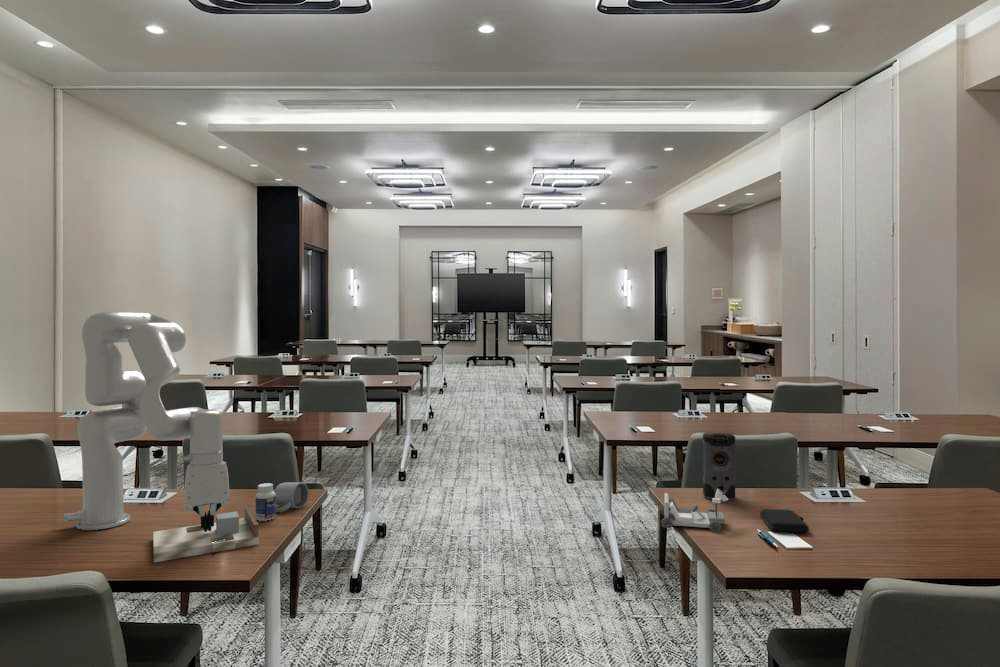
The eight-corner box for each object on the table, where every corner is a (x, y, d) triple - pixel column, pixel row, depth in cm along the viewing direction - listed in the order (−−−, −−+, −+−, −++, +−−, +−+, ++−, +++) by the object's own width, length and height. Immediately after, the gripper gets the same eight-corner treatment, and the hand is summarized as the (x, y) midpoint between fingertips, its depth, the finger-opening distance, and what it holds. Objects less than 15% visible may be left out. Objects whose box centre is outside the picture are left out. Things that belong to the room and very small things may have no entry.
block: (217, 535, 154) (217, 519, 154) (216, 529, 159) (216, 514, 159) (239, 532, 157) (238, 516, 157) (236, 526, 161) (236, 511, 161)
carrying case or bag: (815, 537, 157) (798, 519, 172) (815, 525, 157) (798, 508, 172) (771, 534, 159) (758, 517, 174) (771, 523, 159) (758, 506, 174)
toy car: (726, 485, 171) (731, 497, 160) (726, 520, 172) (731, 534, 160) (660, 482, 176) (661, 492, 165) (660, 515, 176) (661, 528, 165)
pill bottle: (268, 522, 171) (268, 487, 171) (251, 521, 172) (251, 486, 172) (279, 516, 176) (279, 482, 176) (262, 515, 177) (262, 482, 177)
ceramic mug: (287, 502, 191) (287, 477, 190) (309, 504, 188) (309, 479, 188) (264, 512, 181) (263, 487, 180) (287, 515, 178) (286, 489, 178)
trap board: (153, 562, 142) (153, 541, 142) (153, 539, 157) (153, 520, 157) (258, 544, 153) (258, 524, 153) (248, 524, 169) (248, 506, 169)
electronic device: (705, 499, 191) (705, 436, 191) (702, 494, 197) (702, 432, 196) (736, 500, 189) (736, 436, 189) (732, 495, 195) (732, 433, 195)
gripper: (173, 464, 148) (174, 539, 149) (239, 457, 156) (240, 529, 156) (172, 459, 155) (173, 530, 155) (236, 452, 162) (237, 521, 162)
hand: (207, 529), depth 155 cm, fingers closed
